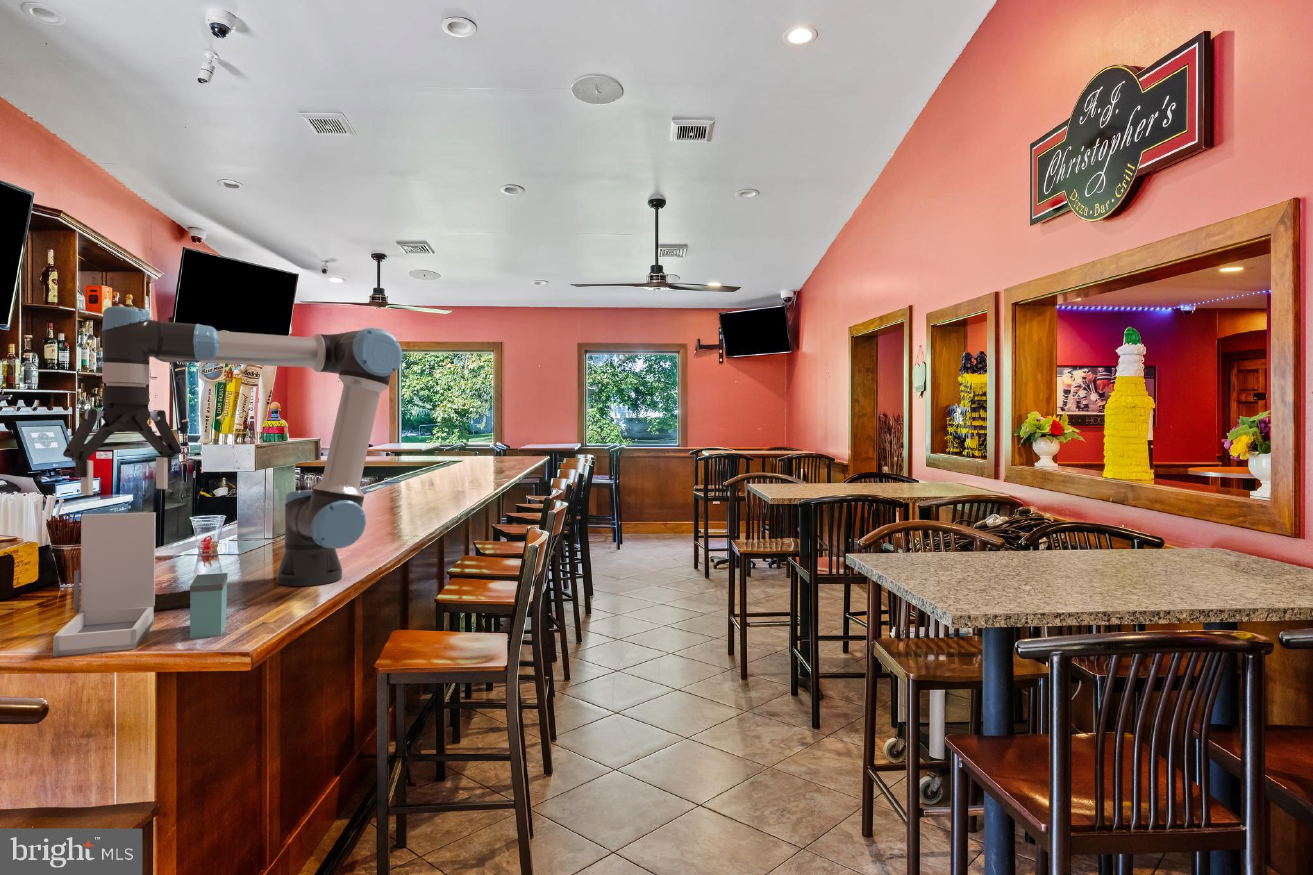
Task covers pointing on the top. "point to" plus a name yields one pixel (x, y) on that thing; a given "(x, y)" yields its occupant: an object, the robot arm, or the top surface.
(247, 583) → the top surface
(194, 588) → the block
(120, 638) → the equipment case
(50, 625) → the top surface
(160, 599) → the hand tool
